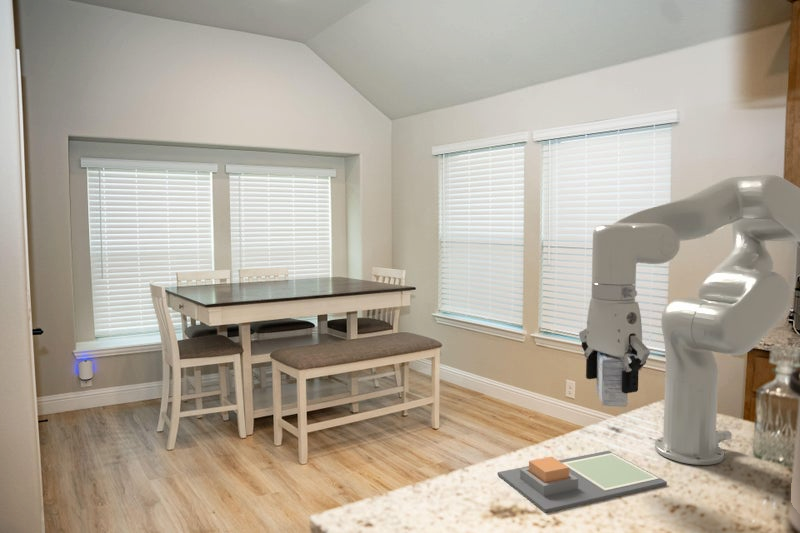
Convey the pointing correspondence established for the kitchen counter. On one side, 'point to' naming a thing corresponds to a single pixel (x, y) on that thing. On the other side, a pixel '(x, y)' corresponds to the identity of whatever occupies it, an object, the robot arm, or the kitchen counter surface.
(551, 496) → the activity board
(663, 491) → the kitchen counter surface
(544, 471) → the button
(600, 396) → the medicine box
